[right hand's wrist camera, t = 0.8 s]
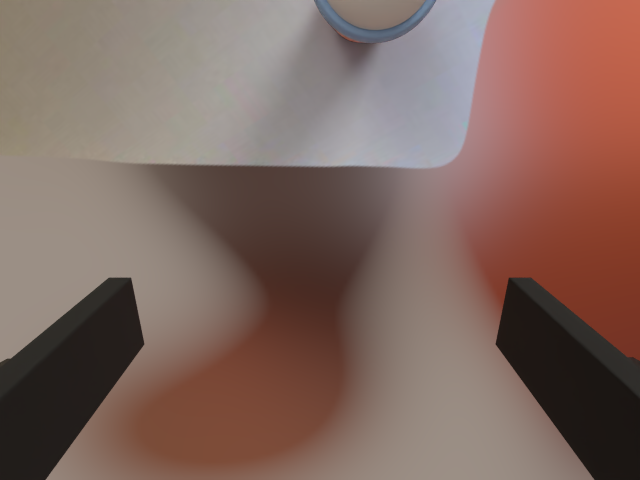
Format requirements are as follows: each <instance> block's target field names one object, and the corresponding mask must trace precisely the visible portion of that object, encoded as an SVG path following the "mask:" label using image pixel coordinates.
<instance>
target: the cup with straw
mask: <svg viewBox="0 0 640 480" xmlns="http://www.w3.org/2000/svg"><path fill="white" fill-rule="evenodd" d="M314 1H315V3H316V6H317V7H318V9H319V11H320V13H321V14H322V15H323V17H324V18H325V19H326V21H327V22H328V23H329V24H330V25H331V26H332V27H333V28H334V29H335V31H337V32H338V33H339V34H340V35H341V36H342V37H344V38H345V39H347V40H350V41H353V42H361V43H381V42H386V41H390V40H393V39H396V38H398V37H400V36H402V35H404V34H406V33H407V32H409V31H410V30H412V29H413V28H414V27H415V26H416V25H418V24H419V23H420V22H421V21H422V20H423V18H424V17H425V16H426V15H427V14H428V12H429V11H430V9H431V8H432V7H433V5H434V3H435V1H436V0H314Z"/></svg>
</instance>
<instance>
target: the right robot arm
mask: <svg viewBox="0 0 640 480" xmlns="http://www.w3.org/2000/svg"><path fill="white" fill-rule="evenodd" d="M143 345H144V340H143V335H142V330H141V325H140V320H139V315H138V310H137V305H136V300H135V295H134V290H133V285H132V280H131V278H108V279H107V280H106V281H104V282H103V283H102V284H101V285H100V286H98V287H97V288H96V289H95V290H94V291H92V292H91V293H90V294H89V295H88V296H86V297H85V298H84V299H83V300H81V301H80V302H79V303H78V304H77V305H75V306H74V307H73V308H72V309H71V310H69V311H68V312H67V313H66V314H64V315H63V316H62V317H61V318H60V319H58V320H57V321H56V322H55V323H54V324H52V325H51V326H50V327H49V328H47V329H46V330H45V331H44V332H43V333H42V334H40V335H39V336H38V337H37V338H35V339H34V340H33V341H32V342H31V343H29V344H28V345H27V346H26V347H24V348H23V349H22V350H21V351H20V352H18V353H17V354H16V355H15V356H14V357H12V358H11V359H6V360H4V361H2V362H0V480H46V478H47V477H48V476H49V474H50V473H51V471H52V470H53V469H54V467H55V466H56V465H57V463H58V462H59V460H60V459H61V458H62V456H63V455H64V454H65V452H66V451H67V449H68V448H69V447H70V445H71V444H72V443H73V441H74V440H75V439H76V437H77V436H78V434H79V433H80V432H81V430H82V429H83V428H84V426H85V425H86V423H87V422H88V421H89V419H90V418H91V417H92V415H93V414H94V413H95V411H96V410H97V408H98V407H99V406H100V404H101V403H102V402H103V400H104V399H105V397H106V396H107V395H108V393H109V392H110V391H111V389H112V388H113V386H114V385H115V384H116V382H117V381H118V380H119V378H120V377H121V376H122V374H123V373H124V371H125V370H126V369H127V367H128V366H129V365H130V363H131V362H132V360H133V359H134V358H135V356H136V355H137V354H138V352H139V351H140V350H141V348H142V347H143ZM496 345H497V347H498V348H499V349H500V351H501V352H502V354H503V355H504V356H505V358H506V359H507V360H508V362H509V363H510V365H511V366H512V367H513V369H514V370H515V371H516V373H517V374H518V375H519V377H520V378H521V380H522V381H523V382H524V384H525V385H526V386H527V388H528V389H529V391H530V392H531V393H532V395H533V396H534V397H535V399H536V400H537V402H538V403H539V404H540V406H541V407H542V408H543V410H544V411H545V413H546V414H547V415H548V417H549V418H550V419H551V421H552V422H553V423H554V425H555V426H556V428H557V429H558V430H559V432H560V433H561V434H562V436H563V437H564V439H565V440H566V441H567V443H568V444H569V445H570V447H571V448H572V449H573V451H574V452H575V454H576V455H577V456H578V458H579V459H580V460H581V462H582V463H583V464H584V466H585V467H586V469H587V470H588V471H589V473H590V474H591V476H592V477H593V478H594V480H640V361H639V360H637V359H635V358H633V357H626V356H625V355H624V354H623V353H622V352H620V351H619V350H618V349H617V348H616V347H614V346H613V345H612V344H611V343H609V342H608V341H607V340H606V339H605V338H603V337H602V336H601V335H600V334H599V333H597V332H596V331H595V330H594V329H593V328H591V327H590V326H589V325H588V324H586V323H585V322H584V321H583V320H582V319H580V318H579V317H578V316H577V315H575V314H574V313H573V312H572V311H571V310H569V309H568V308H567V307H566V306H565V305H563V304H562V303H561V302H560V301H558V300H557V299H556V298H555V297H554V296H552V295H551V294H550V293H549V292H548V291H546V290H545V289H544V288H543V287H542V286H540V285H539V284H538V283H537V282H536V281H534V280H533V279H532V278H509V280H508V285H507V290H506V295H505V300H504V305H503V310H502V315H501V320H500V325H499V330H498V335H497V340H496Z"/></svg>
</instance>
